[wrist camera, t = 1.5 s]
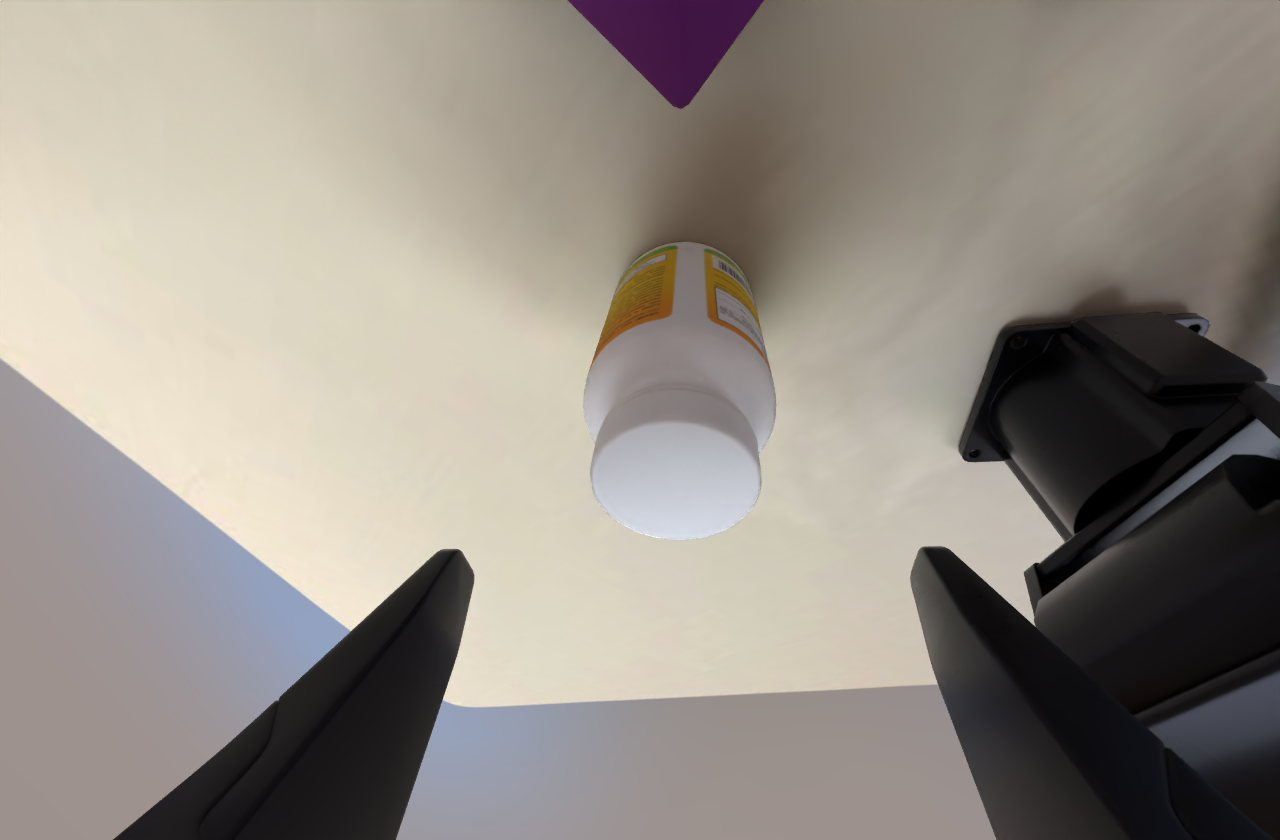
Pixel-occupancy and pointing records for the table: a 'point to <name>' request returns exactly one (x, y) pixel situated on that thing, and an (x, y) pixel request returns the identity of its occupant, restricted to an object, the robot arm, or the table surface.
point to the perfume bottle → (671, 37)
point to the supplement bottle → (679, 396)
